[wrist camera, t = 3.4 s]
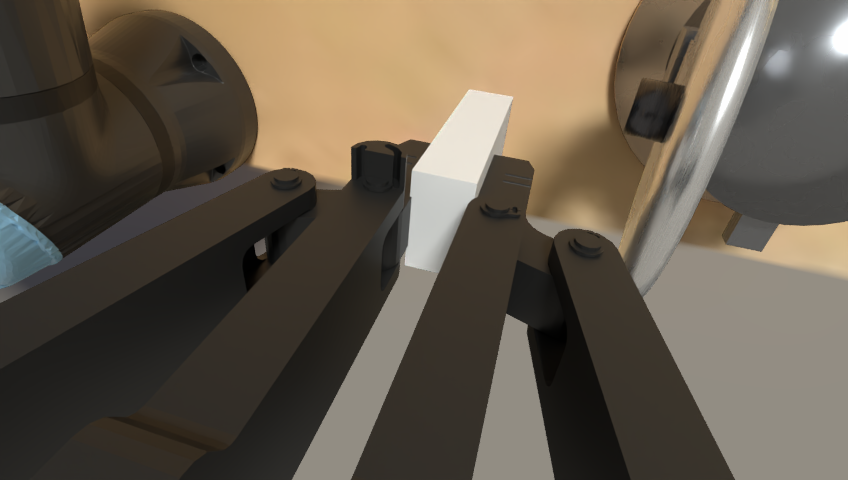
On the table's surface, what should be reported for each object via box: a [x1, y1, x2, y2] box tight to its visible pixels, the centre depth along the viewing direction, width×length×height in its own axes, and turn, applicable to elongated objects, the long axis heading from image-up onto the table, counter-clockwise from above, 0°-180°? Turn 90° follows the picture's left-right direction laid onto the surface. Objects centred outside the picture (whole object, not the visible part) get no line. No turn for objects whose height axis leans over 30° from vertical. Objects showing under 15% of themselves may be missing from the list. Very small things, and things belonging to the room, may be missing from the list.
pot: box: [614, 0, 848, 252], centre depth 26 cm, size 19×19×9 cm
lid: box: [618, 0, 779, 298], centre depth 18 cm, size 14×14×2 cm
